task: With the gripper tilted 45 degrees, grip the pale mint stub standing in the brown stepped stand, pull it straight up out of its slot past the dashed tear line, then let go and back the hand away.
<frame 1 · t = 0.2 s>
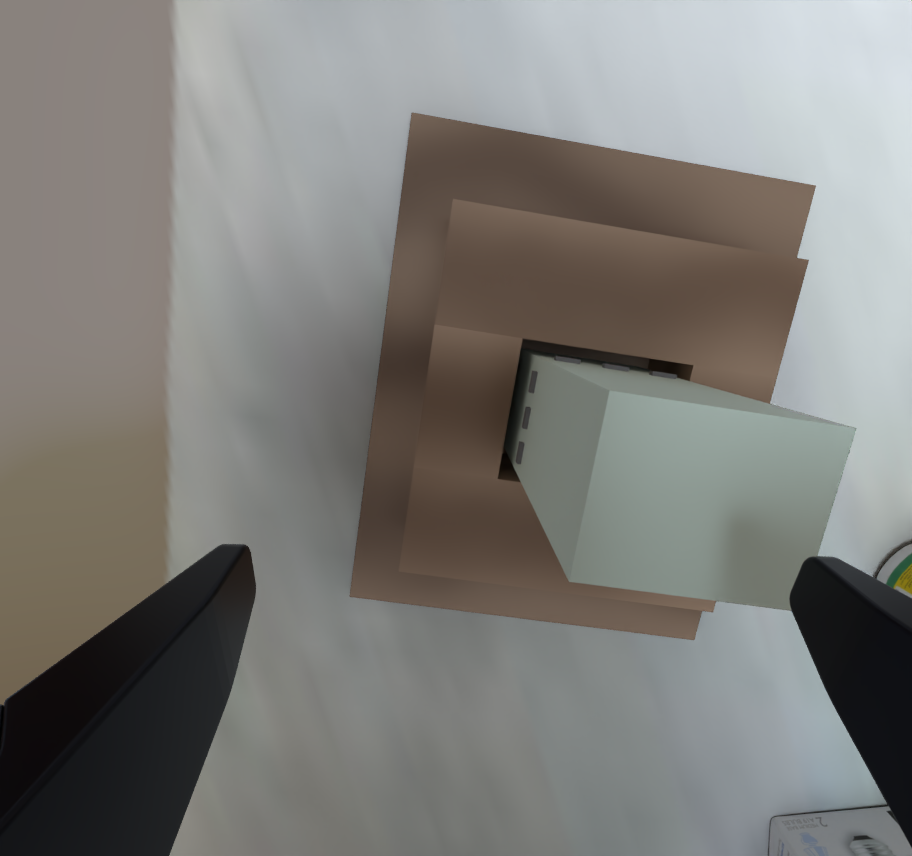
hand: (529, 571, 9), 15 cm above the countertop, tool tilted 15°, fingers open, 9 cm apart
stub: (612, 435, 17), point 7 cm above the countertop, slide at 0.0 cm
brown stepped stand: (564, 401, 24), on the countertop
light bulb box: (859, 853, 30), on the countertop
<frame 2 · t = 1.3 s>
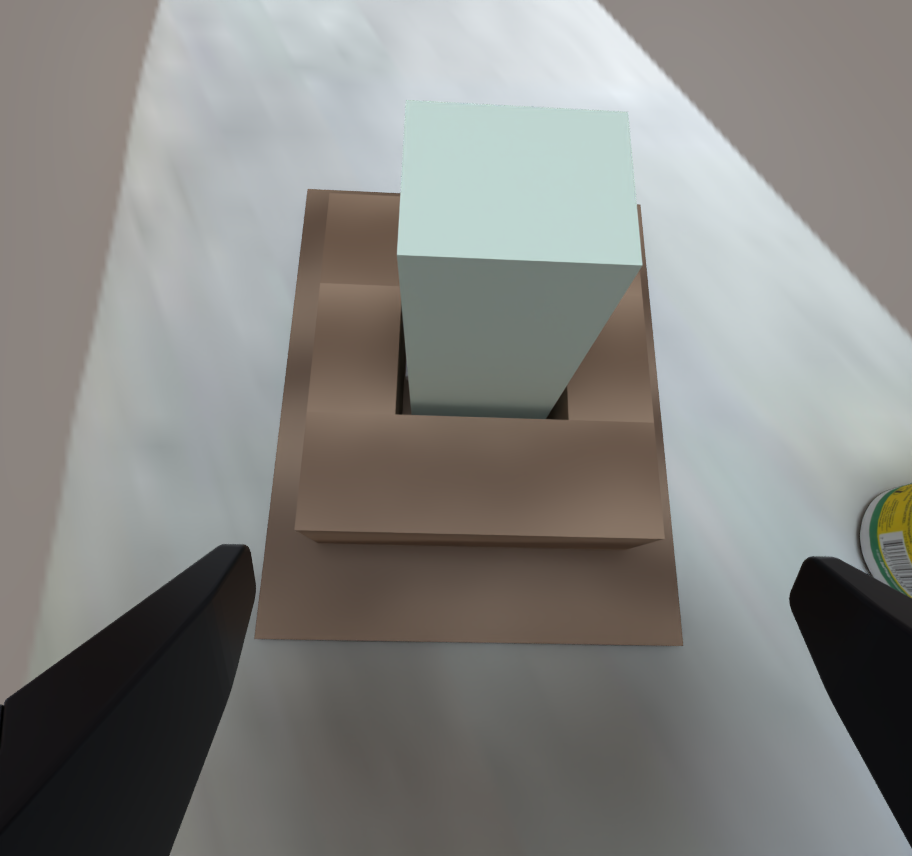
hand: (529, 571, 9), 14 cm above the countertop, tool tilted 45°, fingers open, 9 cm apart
stub: (487, 317, 18), point 7 cm above the countertop, slide at 0.0 cm
brown stepped stand: (473, 396, 24), on the countertop
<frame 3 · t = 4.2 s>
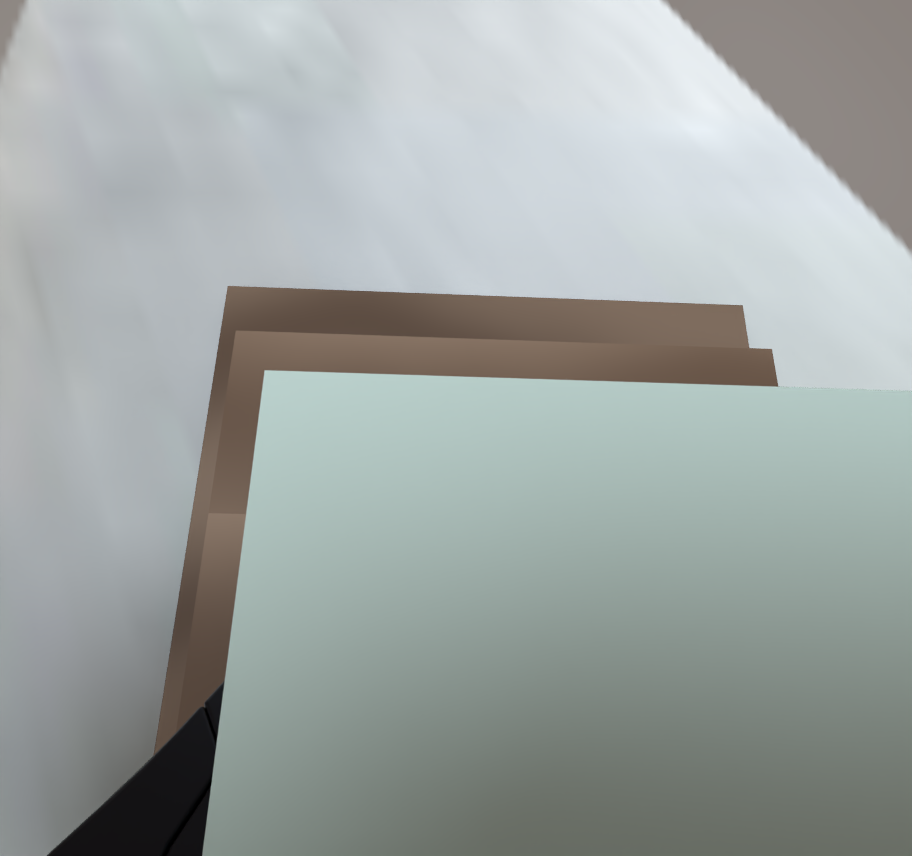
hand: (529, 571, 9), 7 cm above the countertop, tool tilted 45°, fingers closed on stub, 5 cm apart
stub: (530, 660, 8), point 7 cm above the countertop, slide at 0.0 cm, touching gripper
brown stepped stand: (488, 639, 15), on the countertop
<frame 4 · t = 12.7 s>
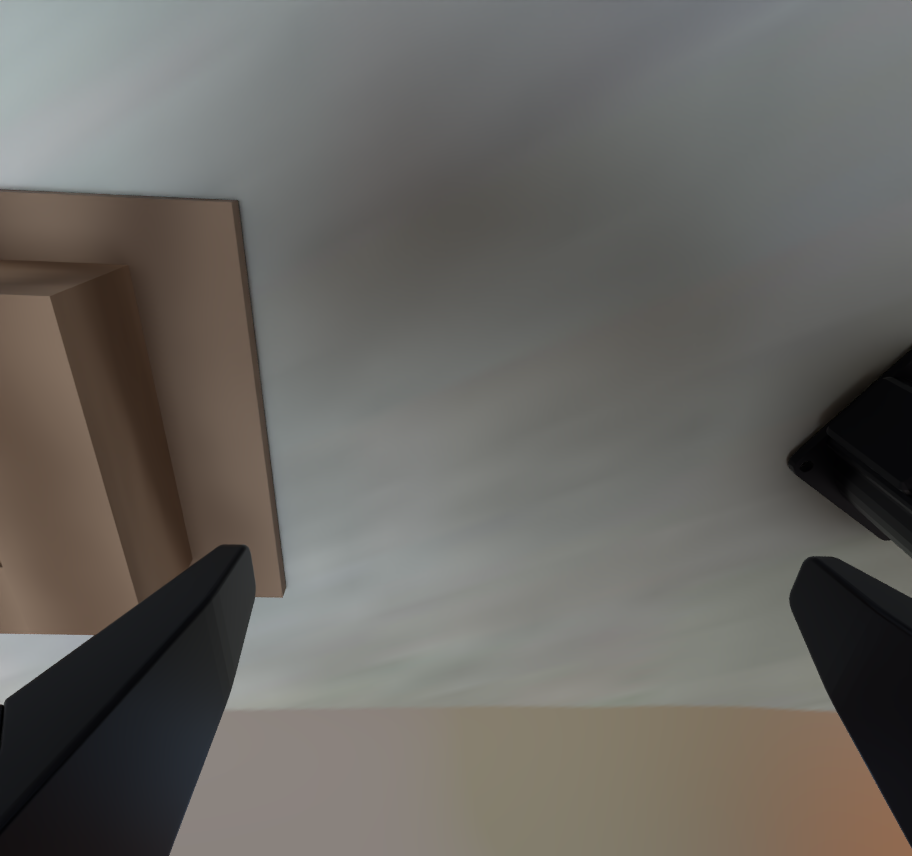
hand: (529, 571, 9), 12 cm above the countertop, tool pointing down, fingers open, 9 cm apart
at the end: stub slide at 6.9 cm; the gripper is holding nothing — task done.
